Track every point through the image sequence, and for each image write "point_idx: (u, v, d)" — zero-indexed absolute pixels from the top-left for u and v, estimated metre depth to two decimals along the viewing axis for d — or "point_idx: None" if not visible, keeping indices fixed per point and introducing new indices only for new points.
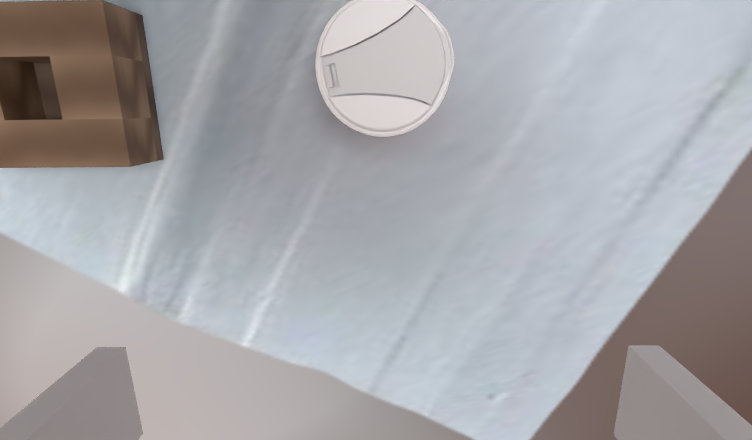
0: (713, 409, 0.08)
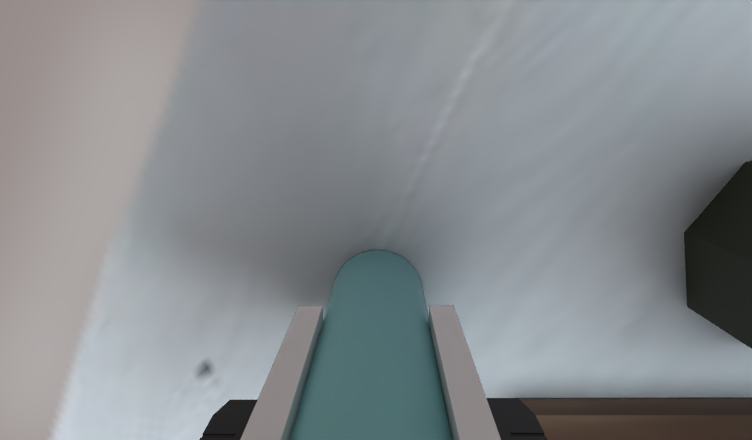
0: (453, 346, 0.10)
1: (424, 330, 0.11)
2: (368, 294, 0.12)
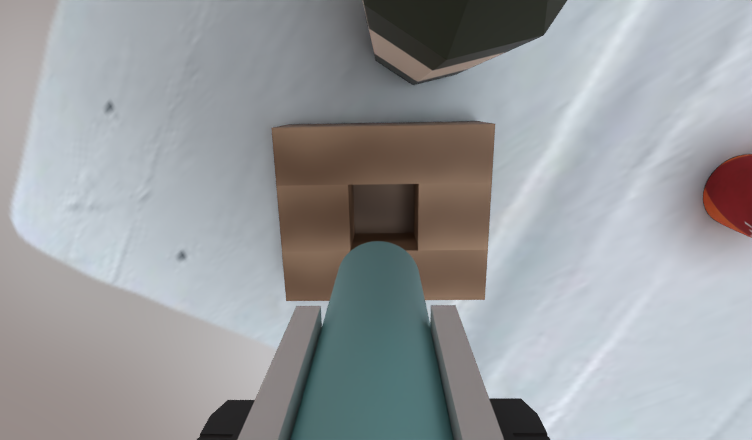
0: (455, 346, 0.10)
1: (420, 310, 0.13)
2: (369, 278, 0.13)
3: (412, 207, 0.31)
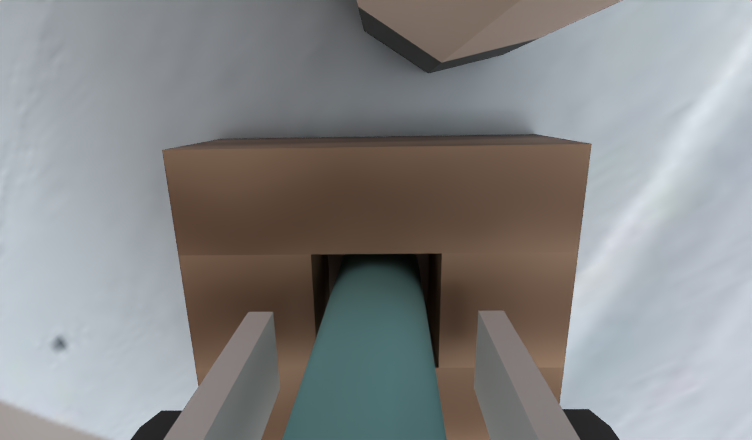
0: (514, 354, 0.10)
1: (416, 296, 0.14)
2: (369, 266, 0.14)
3: (425, 276, 0.19)
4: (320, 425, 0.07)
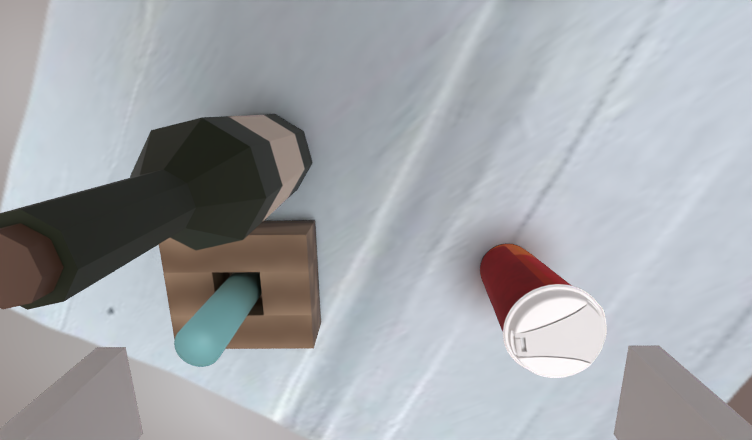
0: (713, 409, 0.08)
1: (249, 286, 0.38)
2: (235, 276, 0.39)
3: None
4: (196, 314, 0.32)
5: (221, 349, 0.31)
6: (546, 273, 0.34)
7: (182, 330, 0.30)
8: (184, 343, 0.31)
